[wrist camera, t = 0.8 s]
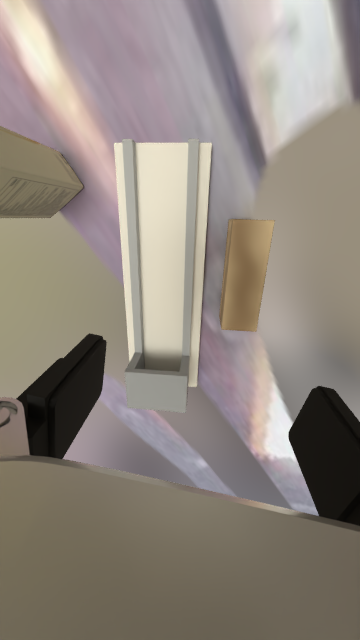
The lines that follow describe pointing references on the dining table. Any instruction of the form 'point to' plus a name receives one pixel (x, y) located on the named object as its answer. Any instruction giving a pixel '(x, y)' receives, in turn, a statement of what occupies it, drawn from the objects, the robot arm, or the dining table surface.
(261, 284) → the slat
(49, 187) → the skincare box
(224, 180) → the dining table surface
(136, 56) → the dining table surface
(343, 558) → the robot arm
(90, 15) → the dining table surface
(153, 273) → the board
